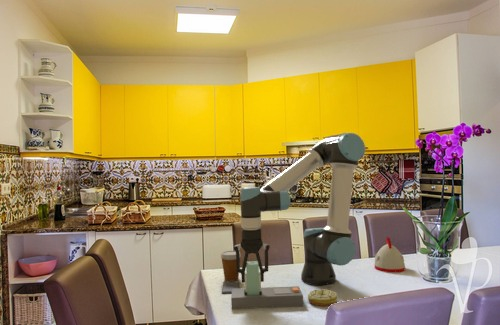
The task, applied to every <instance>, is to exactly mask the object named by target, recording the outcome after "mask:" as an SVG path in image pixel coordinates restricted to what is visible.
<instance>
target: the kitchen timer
mask: <svg viewBox="0 0 500 325" xmlns="http://www.w3.org/2000/svg"><path fill="white" fill-rule="evenodd" d="M385 241H386V242H385V243H386V244H384V245H382V246H381V248H380V249H378V252H377V253H375V255H374V256H375V257H374V269H375V270H377V271H379V272H382V273H389V274H390V273H392V274H397V273H403V272H405V271H406V266H405V265H406V264H405V259H404V256H403V254H402V253H401V252H400V250H398V248H397V247H396V246H394V245H393V244H392V243H391V237H389V236H388V237H386V239H385Z"/></svg>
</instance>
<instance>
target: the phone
mask: <svg viewBox="0 0 500 325" xmlns="http://www.w3.org/2000/svg"><path fill="white" fill-rule="evenodd" d="M238 288H240V281H224V282H222V288H221V294H222V295H224V294H225V295H230V294H231V295H232V289H238Z"/></svg>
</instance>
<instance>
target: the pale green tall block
mask: <svg viewBox="0 0 500 325" xmlns="http://www.w3.org/2000/svg"><path fill="white" fill-rule="evenodd" d="M245 272H246V273H247V296H250V295H259V272H260V269H259V265H258V261H257V260H256V261H255V260H252V261H247V264H246V269H245Z"/></svg>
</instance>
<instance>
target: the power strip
mask: <svg viewBox="0 0 500 325" xmlns="http://www.w3.org/2000/svg"><path fill="white" fill-rule="evenodd" d="M230 298H231V300H230V301H231V302H230V303H231V306H230V307H231V309H232V310H240V309H241V310H242V309H244V310H245V309H267V308H269V309H271V308H292V307H294V308H296V307H300V308H301V307H304V294H303V293H302V291H301V289H300V287H299V285H298V286H276V287H275V286H273V287H272V286H271V287H261V292H259V295H250V296H247V292H245V287H244V288H243V287H241V288H240V287H239V288H238V289H232V294H231V297H230Z"/></svg>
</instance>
